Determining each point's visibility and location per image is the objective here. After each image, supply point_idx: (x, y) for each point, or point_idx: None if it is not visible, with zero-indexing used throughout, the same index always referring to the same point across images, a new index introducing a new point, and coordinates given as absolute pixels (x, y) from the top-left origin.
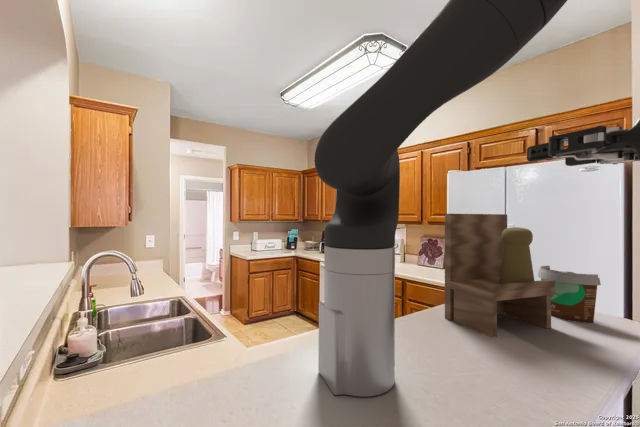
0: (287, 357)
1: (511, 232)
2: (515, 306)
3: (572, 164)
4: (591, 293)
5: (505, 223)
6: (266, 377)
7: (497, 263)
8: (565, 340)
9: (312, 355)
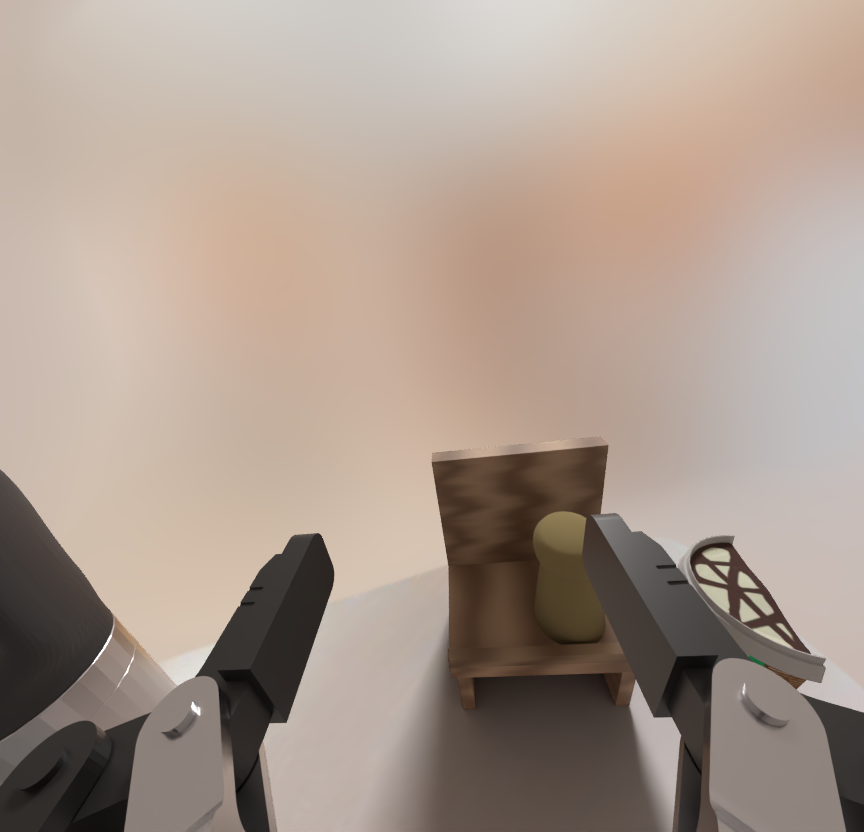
0: None
1: (540, 545)
2: None
3: (597, 589)
4: (784, 678)
5: (600, 464)
6: None
7: None
8: (609, 786)
9: (183, 677)
